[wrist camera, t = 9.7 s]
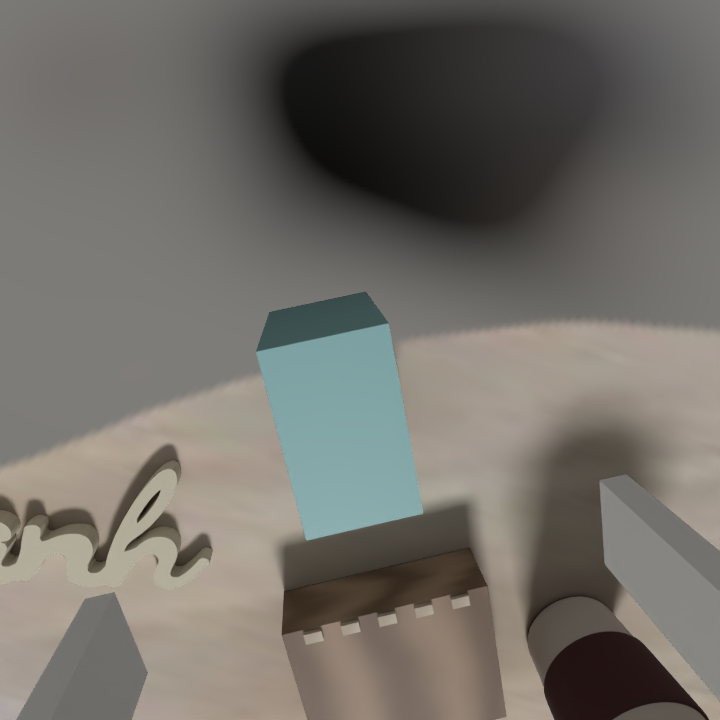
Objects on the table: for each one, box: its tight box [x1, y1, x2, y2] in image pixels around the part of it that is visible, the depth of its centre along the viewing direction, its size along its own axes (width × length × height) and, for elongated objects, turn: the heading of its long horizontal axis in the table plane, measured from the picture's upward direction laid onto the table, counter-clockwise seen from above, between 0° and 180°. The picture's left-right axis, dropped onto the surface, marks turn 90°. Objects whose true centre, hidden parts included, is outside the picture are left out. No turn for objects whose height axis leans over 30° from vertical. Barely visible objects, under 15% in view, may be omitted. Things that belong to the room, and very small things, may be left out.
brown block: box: [282, 548, 506, 720], centre depth 38 cm, size 14×12×4 cm
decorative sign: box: [0, 460, 212, 589], centre depth 34 cm, size 23×2×10 cm
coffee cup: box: [528, 597, 709, 720], centre depth 34 cm, size 10×10×15 cm
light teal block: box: [256, 292, 423, 541], centre depth 29 cm, size 6×10×9 cm, turn 11°
